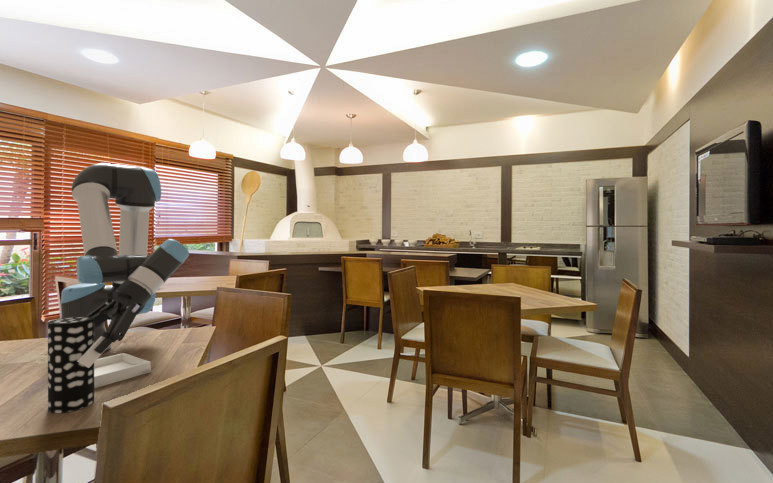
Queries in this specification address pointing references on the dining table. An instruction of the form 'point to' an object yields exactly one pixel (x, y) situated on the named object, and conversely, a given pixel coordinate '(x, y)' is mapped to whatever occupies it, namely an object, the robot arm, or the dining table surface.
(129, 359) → the tray
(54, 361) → the white-spotted black cylinder
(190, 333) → the dining table surface
